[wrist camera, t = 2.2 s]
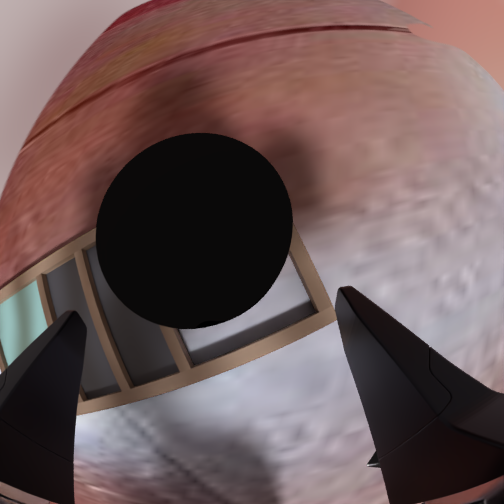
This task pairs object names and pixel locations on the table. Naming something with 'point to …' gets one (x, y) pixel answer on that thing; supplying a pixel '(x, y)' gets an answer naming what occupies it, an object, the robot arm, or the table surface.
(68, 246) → the compartment sorting tray
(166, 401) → the table surface
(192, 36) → the table surface
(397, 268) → the table surface
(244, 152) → the supplement container
